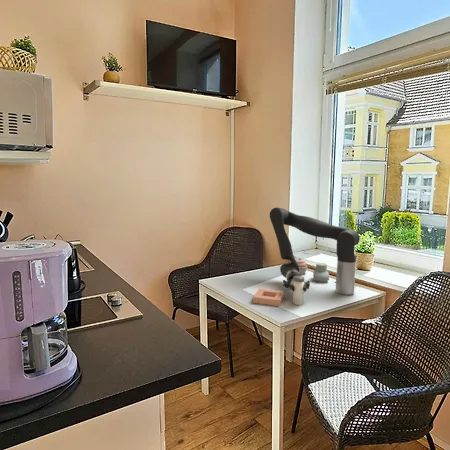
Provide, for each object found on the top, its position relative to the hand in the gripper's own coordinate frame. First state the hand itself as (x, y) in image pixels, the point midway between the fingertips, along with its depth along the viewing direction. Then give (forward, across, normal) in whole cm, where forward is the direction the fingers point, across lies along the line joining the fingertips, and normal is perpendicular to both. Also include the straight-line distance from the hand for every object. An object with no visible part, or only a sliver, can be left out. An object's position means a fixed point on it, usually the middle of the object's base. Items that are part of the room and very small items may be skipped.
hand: (299, 289), depth 175 cm
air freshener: (-39, +19, +8) cm, 44 cm away
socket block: (-6, -14, +8) cm, 17 cm away
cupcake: (-52, +9, +8) cm, 53 cm away
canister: (-3, 0, +8) cm, 8 cm away
